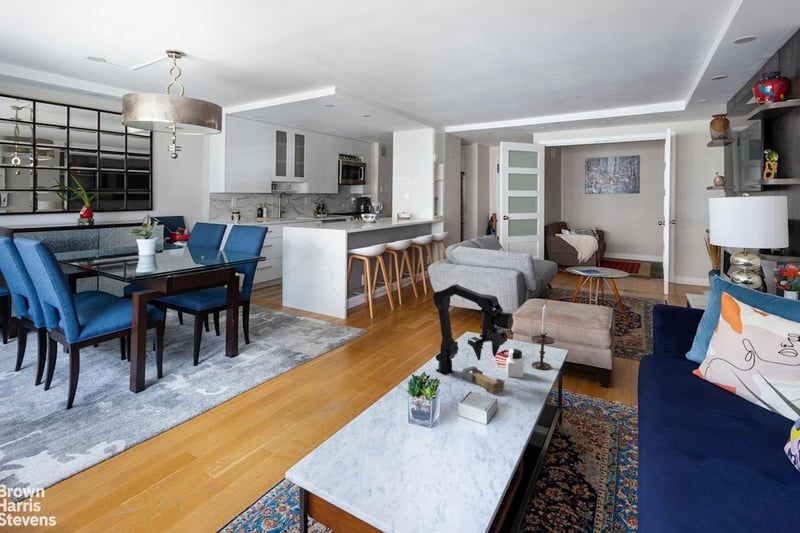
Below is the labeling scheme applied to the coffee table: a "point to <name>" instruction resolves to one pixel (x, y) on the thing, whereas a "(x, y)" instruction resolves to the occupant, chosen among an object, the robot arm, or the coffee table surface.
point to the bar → (482, 379)
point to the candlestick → (542, 343)
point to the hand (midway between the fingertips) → (486, 358)
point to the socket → (495, 386)
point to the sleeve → (468, 375)
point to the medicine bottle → (514, 364)
